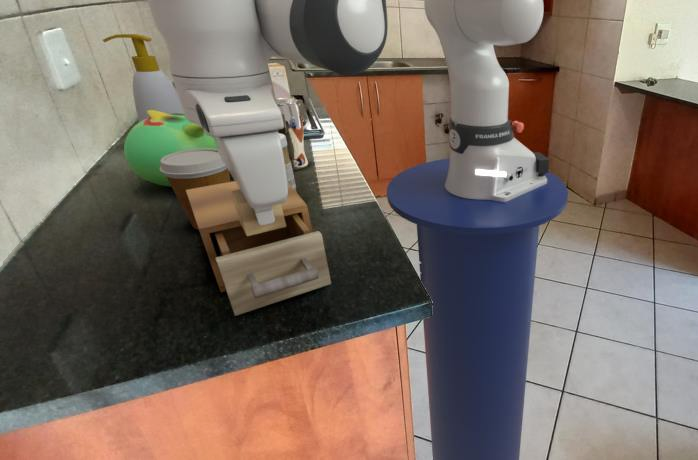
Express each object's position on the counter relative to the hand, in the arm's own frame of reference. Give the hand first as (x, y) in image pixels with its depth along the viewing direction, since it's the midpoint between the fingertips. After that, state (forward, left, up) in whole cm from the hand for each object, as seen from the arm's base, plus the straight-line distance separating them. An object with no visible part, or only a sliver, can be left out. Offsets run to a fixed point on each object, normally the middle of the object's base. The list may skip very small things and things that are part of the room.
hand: (260, 213), depth 53 cm
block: (0, 0, -2) cm, 2 cm away
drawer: (0, -1, -11) cm, 11 cm away
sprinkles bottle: (-8, -28, -12) cm, 32 cm away
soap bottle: (+6, -76, -12) cm, 77 cm away
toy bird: (+5, -50, -12) cm, 52 cm away
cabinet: (0, -11, -12) cm, 16 cm away
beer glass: (-15, -49, -12) cm, 53 cm away
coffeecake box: (-14, -72, -12) cm, 75 cm away
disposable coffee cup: (+4, -27, -12) cm, 30 cm away
